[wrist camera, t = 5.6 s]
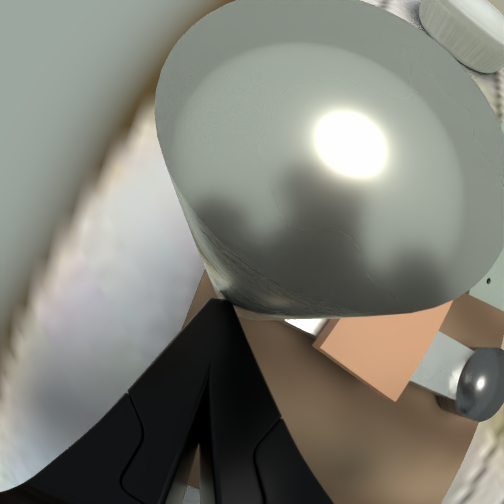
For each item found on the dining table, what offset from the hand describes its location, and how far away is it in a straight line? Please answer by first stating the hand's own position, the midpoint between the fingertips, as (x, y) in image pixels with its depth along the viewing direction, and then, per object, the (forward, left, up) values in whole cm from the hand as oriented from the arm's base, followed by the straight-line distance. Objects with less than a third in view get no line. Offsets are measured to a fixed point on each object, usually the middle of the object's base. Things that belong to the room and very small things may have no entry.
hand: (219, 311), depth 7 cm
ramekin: (+30, -12, -7) cm, 33 cm away
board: (-2, -7, -7) cm, 10 cm away
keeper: (+3, -6, -7) cm, 9 cm away
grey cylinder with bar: (+1, -7, -5) cm, 9 cm away
